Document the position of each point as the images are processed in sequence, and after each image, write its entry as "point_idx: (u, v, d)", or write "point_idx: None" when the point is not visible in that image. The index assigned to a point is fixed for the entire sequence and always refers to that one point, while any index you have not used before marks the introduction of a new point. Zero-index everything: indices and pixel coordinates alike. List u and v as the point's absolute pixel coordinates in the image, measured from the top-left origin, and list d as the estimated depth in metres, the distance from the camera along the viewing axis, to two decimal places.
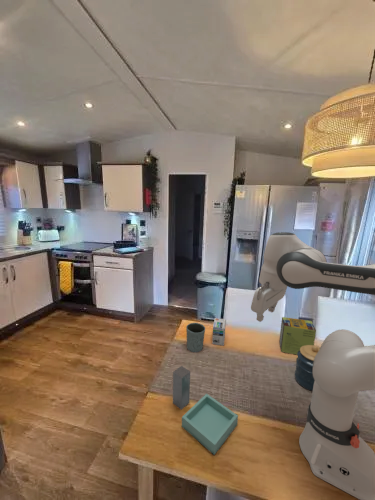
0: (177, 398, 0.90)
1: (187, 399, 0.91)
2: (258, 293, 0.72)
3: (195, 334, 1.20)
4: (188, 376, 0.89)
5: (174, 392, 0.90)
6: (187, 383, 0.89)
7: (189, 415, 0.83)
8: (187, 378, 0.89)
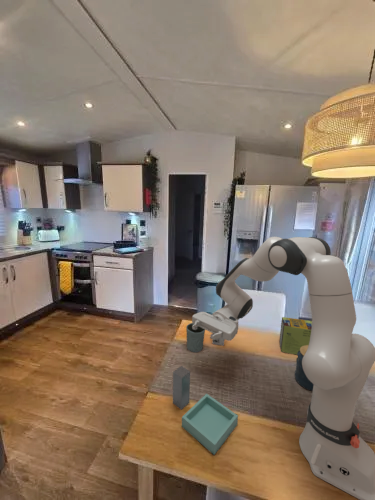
0: (177, 398, 0.90)
1: (187, 399, 0.91)
2: None
3: (195, 334, 1.20)
4: (188, 376, 0.89)
5: (174, 392, 0.90)
6: (187, 383, 0.89)
7: (189, 415, 0.83)
8: (187, 378, 0.89)
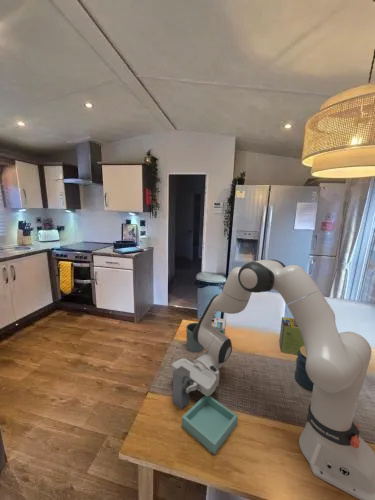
0: (177, 398, 0.89)
1: (187, 399, 0.91)
2: None
3: None
4: (188, 376, 0.89)
5: (174, 392, 0.90)
6: (187, 383, 0.89)
7: (189, 415, 0.83)
8: (187, 378, 0.89)
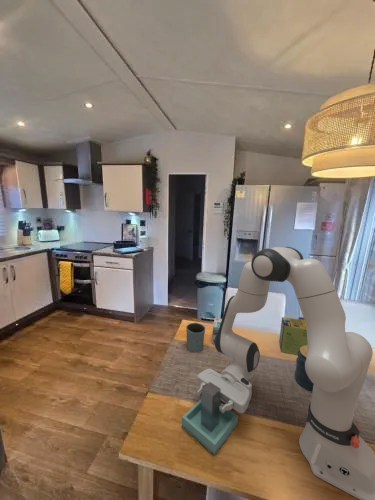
0: (206, 418, 0.80)
1: (217, 419, 0.81)
2: None
3: (195, 334, 1.20)
4: (218, 394, 0.80)
5: (203, 412, 0.81)
6: (217, 402, 0.80)
7: (189, 415, 0.83)
8: (217, 396, 0.79)
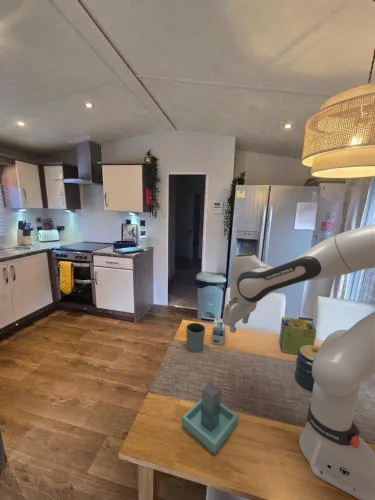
0: (206, 419, 0.80)
1: (217, 420, 0.81)
2: (226, 308, 0.83)
3: (195, 334, 1.20)
4: (219, 394, 0.80)
5: (203, 412, 0.81)
6: (218, 402, 0.80)
7: (189, 415, 0.83)
8: (218, 397, 0.79)
